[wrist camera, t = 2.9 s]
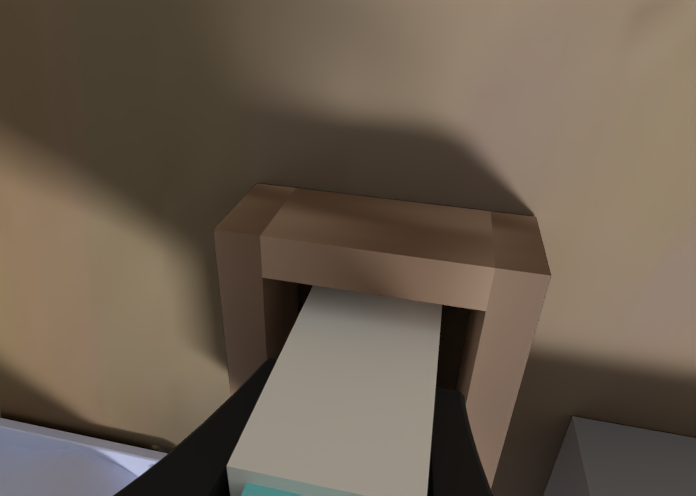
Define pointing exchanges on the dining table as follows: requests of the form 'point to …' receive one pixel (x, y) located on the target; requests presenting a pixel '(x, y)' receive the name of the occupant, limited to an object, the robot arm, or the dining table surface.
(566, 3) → the dining table surface
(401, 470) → the plug
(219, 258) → the brown wooden frame
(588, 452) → the port panel
